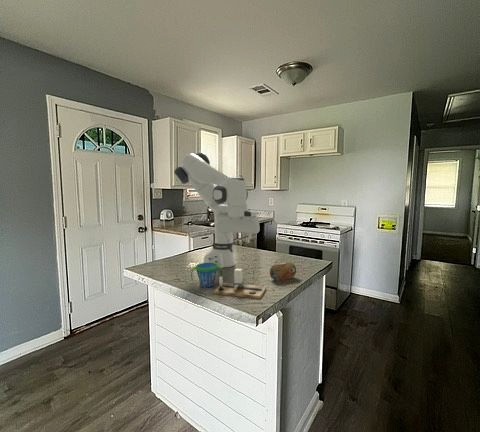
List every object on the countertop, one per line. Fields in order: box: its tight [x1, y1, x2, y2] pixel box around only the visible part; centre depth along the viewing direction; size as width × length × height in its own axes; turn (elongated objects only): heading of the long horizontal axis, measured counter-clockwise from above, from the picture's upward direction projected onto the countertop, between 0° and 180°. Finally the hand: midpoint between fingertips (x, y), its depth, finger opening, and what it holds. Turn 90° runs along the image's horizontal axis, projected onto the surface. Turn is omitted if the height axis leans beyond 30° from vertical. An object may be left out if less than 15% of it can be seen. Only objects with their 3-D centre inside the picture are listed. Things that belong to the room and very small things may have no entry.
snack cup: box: [190, 262, 224, 289], centre depth 132 cm, size 16×10×10 cm
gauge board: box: [212, 281, 267, 300], centre depth 124 cm, size 22×12×2 cm, turn 72°
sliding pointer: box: [232, 268, 245, 291], centre depth 123 cm, size 4×7×8 cm, turn 162°
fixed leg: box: [218, 276, 224, 290], centre depth 123 cm, size 2×2×6 cm
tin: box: [269, 262, 297, 282], centre depth 140 cm, size 15×3×8 cm, turn 114°
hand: (237, 242), depth 123 cm, fingers open, 8 cm apart
